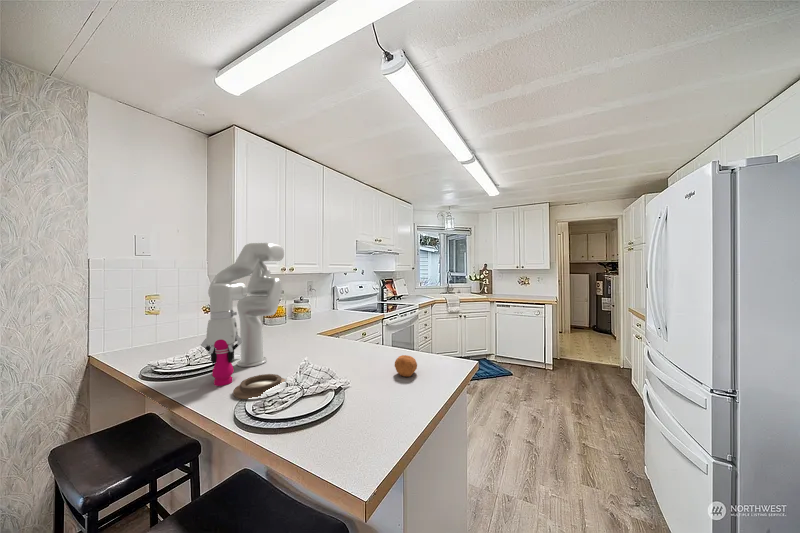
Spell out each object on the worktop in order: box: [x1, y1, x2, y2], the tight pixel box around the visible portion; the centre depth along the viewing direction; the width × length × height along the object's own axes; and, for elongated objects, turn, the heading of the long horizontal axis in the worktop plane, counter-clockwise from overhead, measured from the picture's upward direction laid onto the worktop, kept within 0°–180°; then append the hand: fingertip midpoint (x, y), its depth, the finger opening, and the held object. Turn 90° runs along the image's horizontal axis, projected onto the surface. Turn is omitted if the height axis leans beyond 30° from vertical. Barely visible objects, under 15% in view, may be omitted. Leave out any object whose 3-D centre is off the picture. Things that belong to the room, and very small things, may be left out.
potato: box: [394, 354, 418, 377], centre depth 123 cm, size 9×11×8 cm
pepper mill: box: [211, 340, 235, 387], centre depth 117 cm, size 7×7×20 cm
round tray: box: [232, 373, 287, 401], centre depth 110 cm, size 18×18×3 cm
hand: (222, 361), depth 117 cm, fingers closed on pepper mill, 5 cm apart
